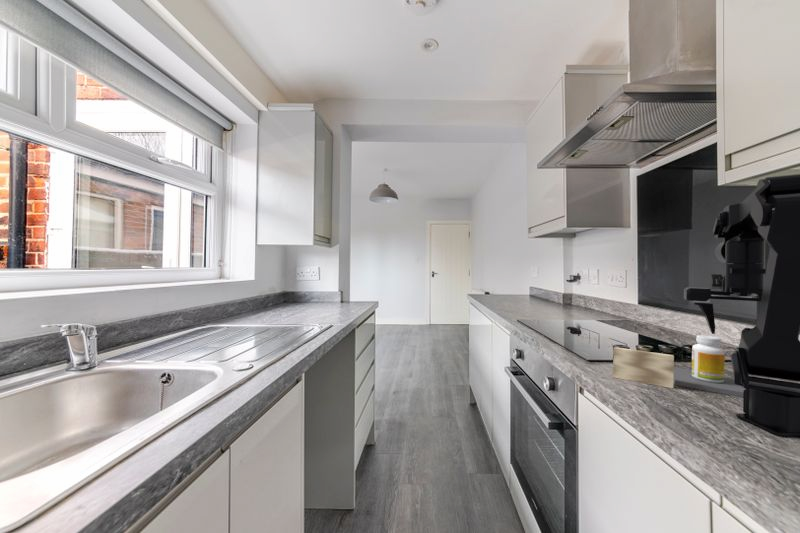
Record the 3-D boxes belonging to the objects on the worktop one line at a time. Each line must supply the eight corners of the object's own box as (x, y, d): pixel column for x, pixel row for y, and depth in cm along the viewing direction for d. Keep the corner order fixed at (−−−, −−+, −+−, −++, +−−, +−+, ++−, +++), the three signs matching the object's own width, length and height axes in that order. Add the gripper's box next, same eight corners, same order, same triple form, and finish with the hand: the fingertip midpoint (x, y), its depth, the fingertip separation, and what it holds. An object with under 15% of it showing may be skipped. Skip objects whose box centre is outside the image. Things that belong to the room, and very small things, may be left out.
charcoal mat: (737, 381, 74) (738, 377, 74) (753, 399, 64) (753, 394, 64) (670, 370, 81) (670, 366, 81) (675, 385, 71) (675, 380, 71)
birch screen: (672, 386, 70) (673, 355, 70) (673, 388, 69) (673, 356, 69) (613, 375, 77) (613, 347, 77) (613, 377, 76) (613, 348, 76)
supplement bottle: (731, 383, 70) (732, 340, 69) (706, 383, 70) (707, 339, 70) (708, 375, 75) (709, 334, 75) (685, 374, 75) (686, 334, 75)
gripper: (796, 264, 68) (795, 336, 68) (681, 263, 79) (680, 325, 79) (821, 264, 59) (819, 347, 59) (687, 263, 70) (686, 333, 70)
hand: (743, 336), depth 67 cm, fingers open, 9 cm apart
